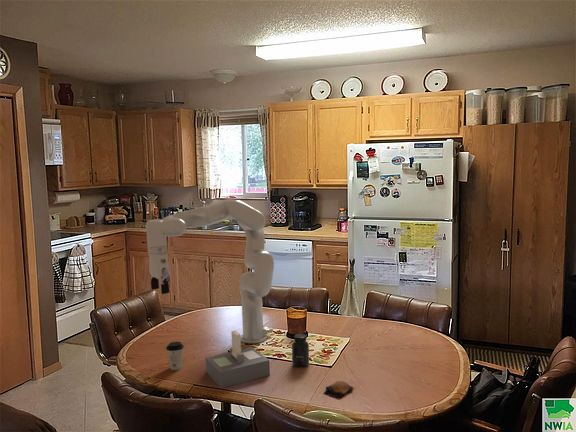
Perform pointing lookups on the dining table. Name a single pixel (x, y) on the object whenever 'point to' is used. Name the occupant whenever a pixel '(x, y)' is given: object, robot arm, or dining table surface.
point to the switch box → (237, 367)
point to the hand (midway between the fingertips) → (160, 291)
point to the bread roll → (338, 389)
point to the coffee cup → (175, 355)
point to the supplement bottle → (300, 351)
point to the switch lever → (236, 344)
